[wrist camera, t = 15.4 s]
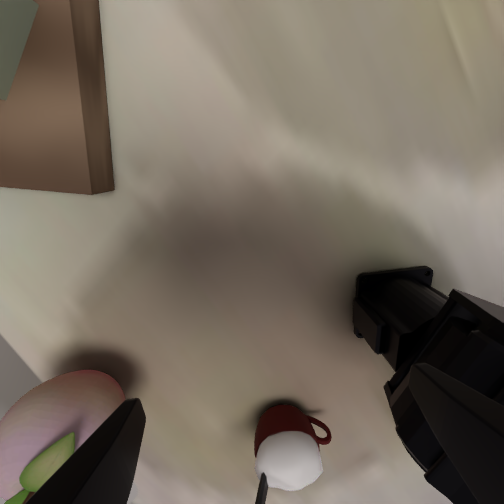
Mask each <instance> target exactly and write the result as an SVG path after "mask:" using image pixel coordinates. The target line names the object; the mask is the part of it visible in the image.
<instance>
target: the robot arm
mask: <svg viewBox="0 0 504 504" xmlns="http://www.w3.org/2000/svg"><path fill="white" fill-rule="evenodd" d="M426 271H427V273H426V274H425V272H426ZM432 277H433V270H432V269H431V268H429V267H427V266H424V267H415V268H406V269H397V270H388V271H380V272H371V273H362V274H360V275H359V276H358V277H357V284H356V297H355V298H354V303H353V323H354V334H355V335H356V336H357V337H358V338H364V339H365V340H366V341H367V343H368V344H369V345H370V347H371V348H372V349H373V351H374V352H375V353H376V354H382V355H383V356H384V358H385V359H386V360H387V361H388V363H389V364H390V365H391V367H392V368H393V369H394V371H395V372H396V373H395V374H394V375H393V377H392V378H391V380H390V381H387V382H386V384H385V385H384V390H385V393H386V396H387V399H388V402H389V405H390V409H391V412H392V415H393V418H394V421H395V424H396V432H397V434H398V436H399V438H400V439H401V441H402V443H403V445H404V446H405V448H406V450H407V452H408V453H409V454H410V455H411V457H412V458H413V459H414V461H415V462H416V463H417V464H418V465H419V466H420V467H421V468H422V470H424V471H425V472H426V473H425V474H424V477H425V479H426V481H427V482H428V483H429V484H431V485H432V486H433V487H434V488H436V489H437V490H438V491H439V492H441V493H442V494H443V495H444V496H446V497H447V498H448V499H449V500H450V501H451V502H452V503H453V504H504V307H502V306H499V305H496V304H494V303H491V302H488V301H486V300H483V299H480V298H478V297H475V296H472V295H470V294H467V293H464V292H462V291H459V290H456V289H453V290H452V291H451V292H450V294H449V295H448V296H450V297H447V296H446V295H444V294H443V293H441V292H439V291H438V290H436V289H435V288H433V287H431V283H432ZM363 278H365V280H364V281H362V279H363ZM359 332H360V333H359ZM145 423H146V416H145V413H144V410H143V407H142V404H141V401H140V399H139V398H132V399H126V400H125V401H123V402H122V403H121V404H120V405H119V407H118V408H117V409H116V410H115V411H114V412H113V413H112V414H111V415H110V416H109V417H108V418H107V419H106V420H105V421H104V422H103V423H102V424H101V425H100V426H99V427H98V428H97V429H96V430H95V431H94V432H93V433H92V434H91V435H90V437H89V438H88V439H87V440H86V441H85V442H84V443H83V444H82V445H81V446H80V447H79V448H78V449H77V450H76V451H75V452H74V453H73V454H72V455H71V456H70V457H69V458H68V459H67V460H66V461H65V462H64V463H63V464H62V466H61V467H60V468H59V469H58V470H57V471H56V472H55V473H54V474H53V475H52V476H51V477H50V478H49V479H48V480H47V481H46V482H45V483H44V484H43V485H42V486H41V487H40V488H39V489H38V490H37V491H36V492H35V493H34V494H33V496H32V497H31V498H30V499H29V500H28V501H27V502H26V503H25V504H127V501H128V497H129V494H130V491H131V487H132V483H133V480H134V475H135V471H136V466H137V461H138V457H139V452H140V447H141V442H142V437H143V433H144V428H145Z"/></svg>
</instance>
